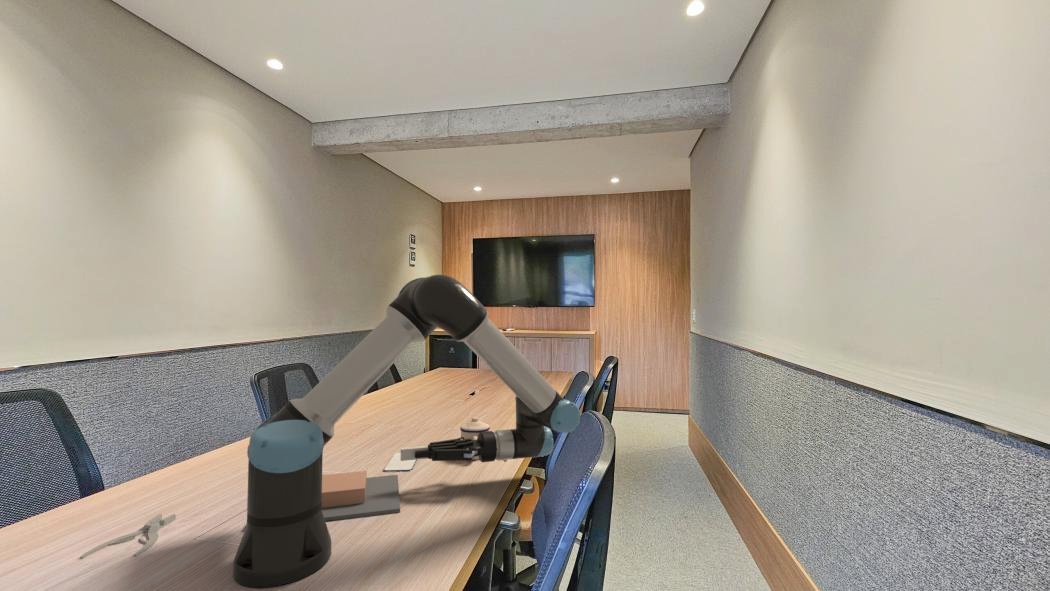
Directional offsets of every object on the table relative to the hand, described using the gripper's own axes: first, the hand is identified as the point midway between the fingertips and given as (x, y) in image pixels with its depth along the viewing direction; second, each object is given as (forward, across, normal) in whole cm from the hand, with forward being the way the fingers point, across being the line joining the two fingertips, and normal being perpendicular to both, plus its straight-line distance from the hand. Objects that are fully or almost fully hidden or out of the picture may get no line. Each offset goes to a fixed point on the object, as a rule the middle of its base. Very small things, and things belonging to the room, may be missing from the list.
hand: (400, 454), depth 110 cm
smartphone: (-1, +24, -10) cm, 26 cm away
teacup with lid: (-23, +22, -10) cm, 33 cm away
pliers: (+49, -8, -10) cm, 51 cm away
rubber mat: (+15, 0, -9) cm, 18 cm away
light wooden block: (+8, 0, -6) cm, 10 cm away
